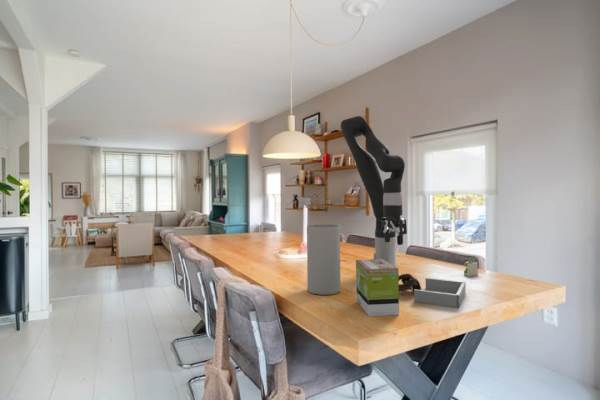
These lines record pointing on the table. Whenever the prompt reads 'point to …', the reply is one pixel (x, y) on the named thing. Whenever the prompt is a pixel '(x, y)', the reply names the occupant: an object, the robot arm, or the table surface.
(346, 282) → the table surface
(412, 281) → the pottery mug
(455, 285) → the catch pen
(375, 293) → the tea box
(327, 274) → the cylinder vase
